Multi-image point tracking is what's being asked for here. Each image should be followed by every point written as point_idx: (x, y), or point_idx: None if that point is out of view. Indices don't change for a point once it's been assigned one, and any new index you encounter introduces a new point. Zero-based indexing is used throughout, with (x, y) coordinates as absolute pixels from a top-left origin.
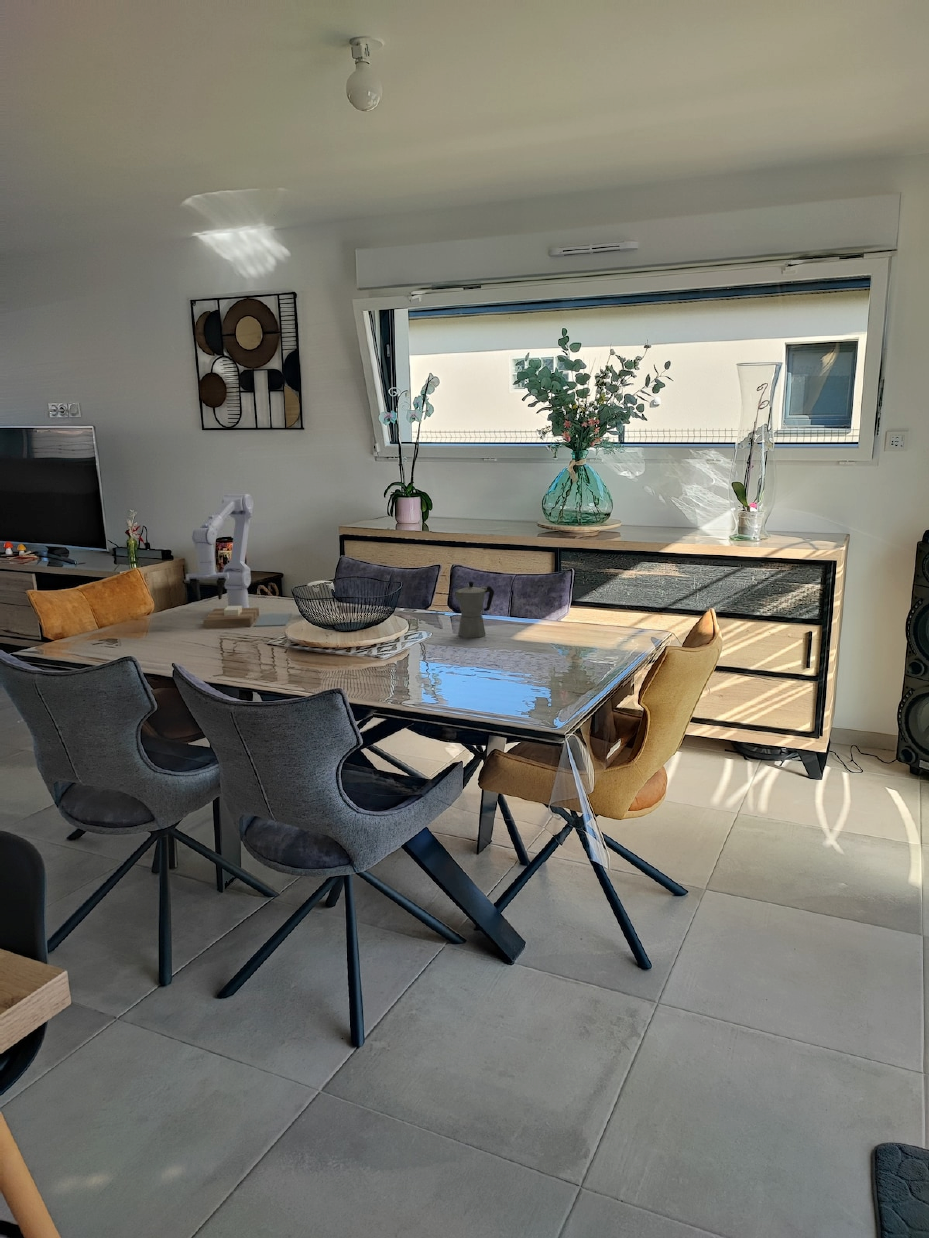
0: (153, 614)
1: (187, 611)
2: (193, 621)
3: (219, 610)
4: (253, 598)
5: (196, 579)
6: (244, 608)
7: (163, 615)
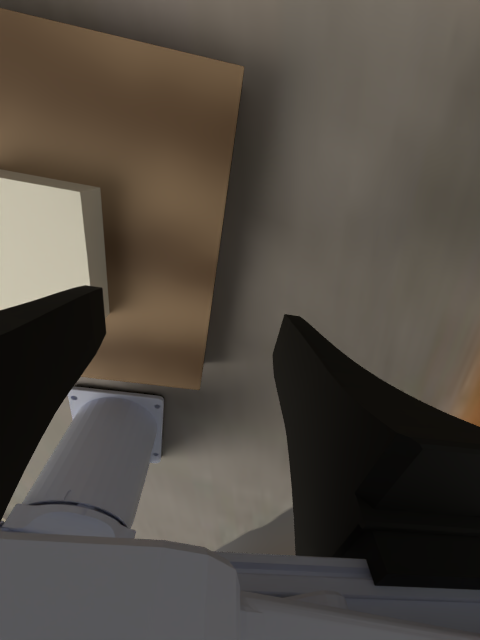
0: None
1: None
2: (300, 301)
3: (166, 348)
4: None
5: (371, 558)
6: None
7: None
